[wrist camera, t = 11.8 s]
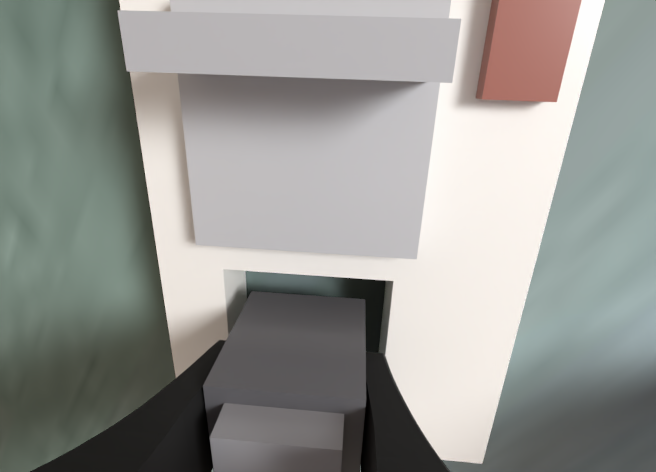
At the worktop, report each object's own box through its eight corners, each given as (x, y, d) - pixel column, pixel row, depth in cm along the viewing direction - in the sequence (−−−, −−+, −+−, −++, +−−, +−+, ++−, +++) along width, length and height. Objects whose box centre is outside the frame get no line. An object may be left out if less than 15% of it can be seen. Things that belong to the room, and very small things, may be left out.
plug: (365, 299, 13) (366, 436, 8) (358, 388, 15) (355, 549, 10) (251, 291, 14) (185, 419, 9) (256, 379, 15) (202, 531, 10)
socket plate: (569, -39, 11) (640, -79, 8) (467, 414, 17) (486, 478, 15) (156, -45, 12) (91, -83, 9) (206, 390, 18) (177, 447, 15)
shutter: (446, 1, 9) (489, -38, 6) (414, 250, 12) (432, 313, 9) (179, -5, 10) (92, -44, 7) (203, 237, 12) (148, 292, 9)
